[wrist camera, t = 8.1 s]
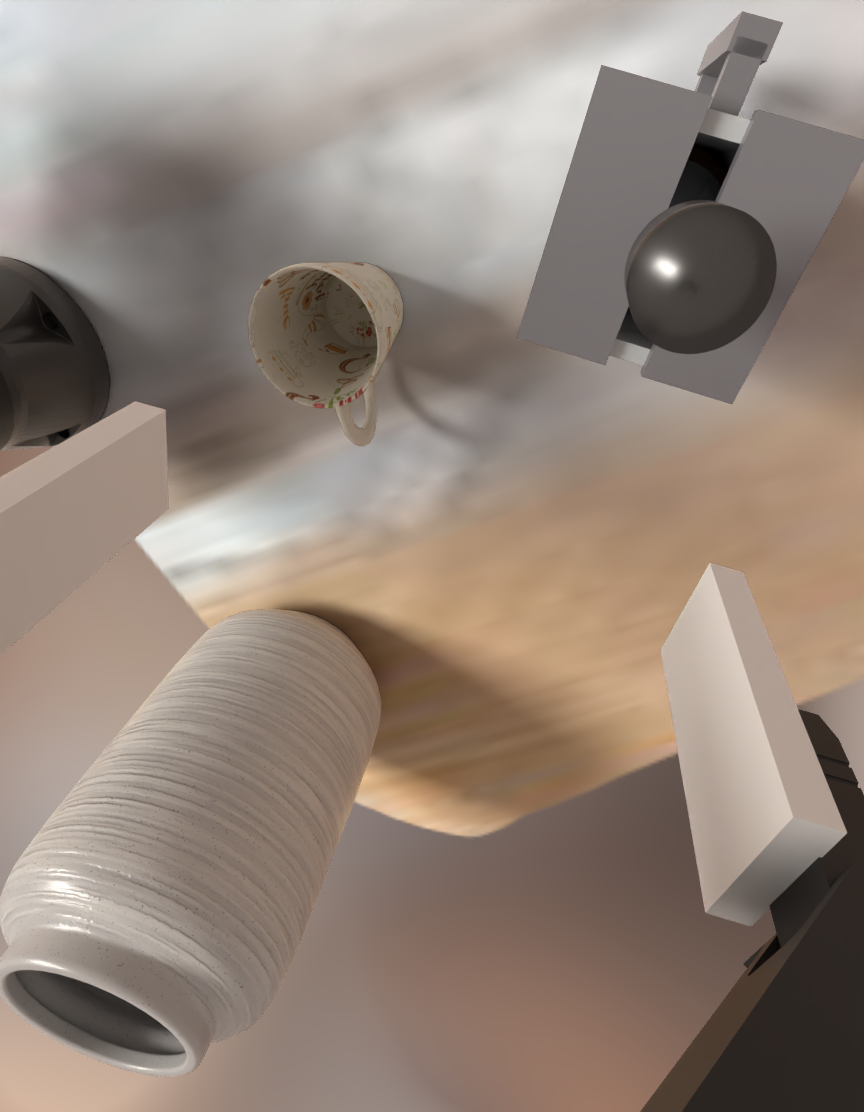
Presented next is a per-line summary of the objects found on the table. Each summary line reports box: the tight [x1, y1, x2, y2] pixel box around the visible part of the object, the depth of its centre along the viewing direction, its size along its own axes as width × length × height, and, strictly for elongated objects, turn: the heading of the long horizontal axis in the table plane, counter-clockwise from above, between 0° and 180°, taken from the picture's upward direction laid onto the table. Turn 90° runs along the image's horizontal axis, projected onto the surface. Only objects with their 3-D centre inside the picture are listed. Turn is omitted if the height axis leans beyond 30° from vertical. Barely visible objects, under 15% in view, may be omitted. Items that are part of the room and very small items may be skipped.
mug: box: [248, 262, 403, 446], centre depth 43 cm, size 8×13×10 cm, turn 13°
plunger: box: [624, 160, 777, 354], centre depth 27 cm, size 7×7×17 cm
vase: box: [0, 609, 381, 1077], centre depth 53 cm, size 20×20×34 cm
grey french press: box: [517, 11, 864, 404], centre depth 32 cm, size 11×14×15 cm
